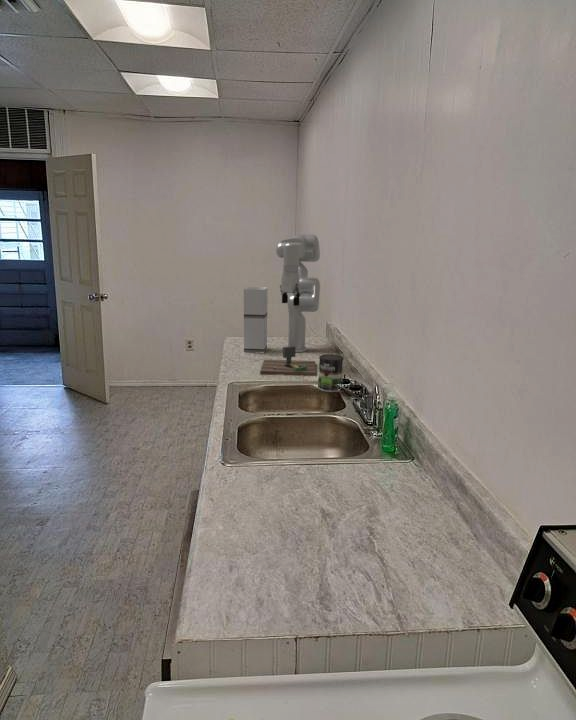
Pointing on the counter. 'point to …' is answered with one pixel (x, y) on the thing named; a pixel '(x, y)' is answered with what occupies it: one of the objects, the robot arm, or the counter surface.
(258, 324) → the tall grey two-section tower
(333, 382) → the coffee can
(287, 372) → the wooden cutting board
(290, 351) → the tuning peg
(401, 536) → the counter surface
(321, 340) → the counter surface
